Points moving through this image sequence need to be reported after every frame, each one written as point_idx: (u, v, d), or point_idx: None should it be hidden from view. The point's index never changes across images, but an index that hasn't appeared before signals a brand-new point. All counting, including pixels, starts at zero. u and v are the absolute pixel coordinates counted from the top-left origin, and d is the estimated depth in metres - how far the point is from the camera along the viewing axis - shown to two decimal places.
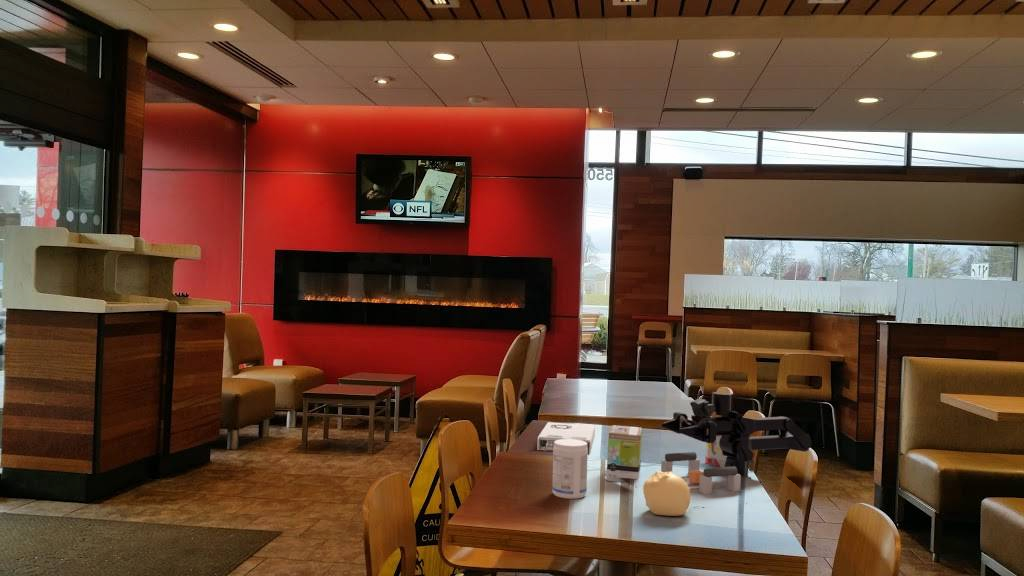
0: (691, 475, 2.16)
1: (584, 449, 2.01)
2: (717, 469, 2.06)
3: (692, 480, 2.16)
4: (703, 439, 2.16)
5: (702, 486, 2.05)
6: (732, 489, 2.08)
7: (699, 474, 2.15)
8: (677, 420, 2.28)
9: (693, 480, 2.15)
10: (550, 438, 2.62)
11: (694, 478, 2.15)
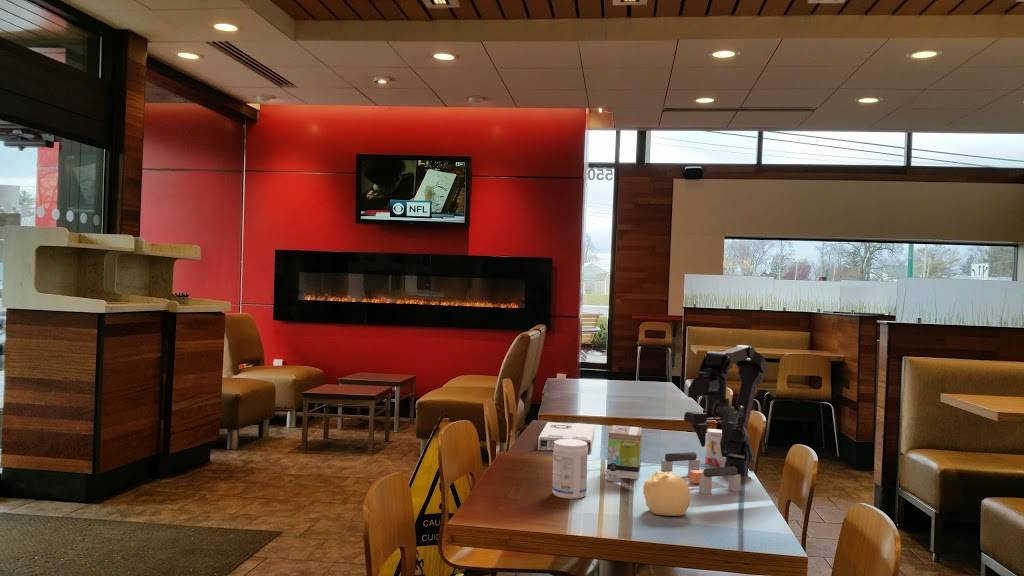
0: (691, 475, 2.16)
1: (584, 449, 2.01)
2: (717, 469, 2.06)
3: (692, 480, 2.16)
4: None
5: (702, 486, 2.05)
6: (732, 489, 2.08)
7: (699, 474, 2.15)
8: None
9: (693, 480, 2.15)
10: (551, 438, 2.62)
11: (694, 478, 2.15)
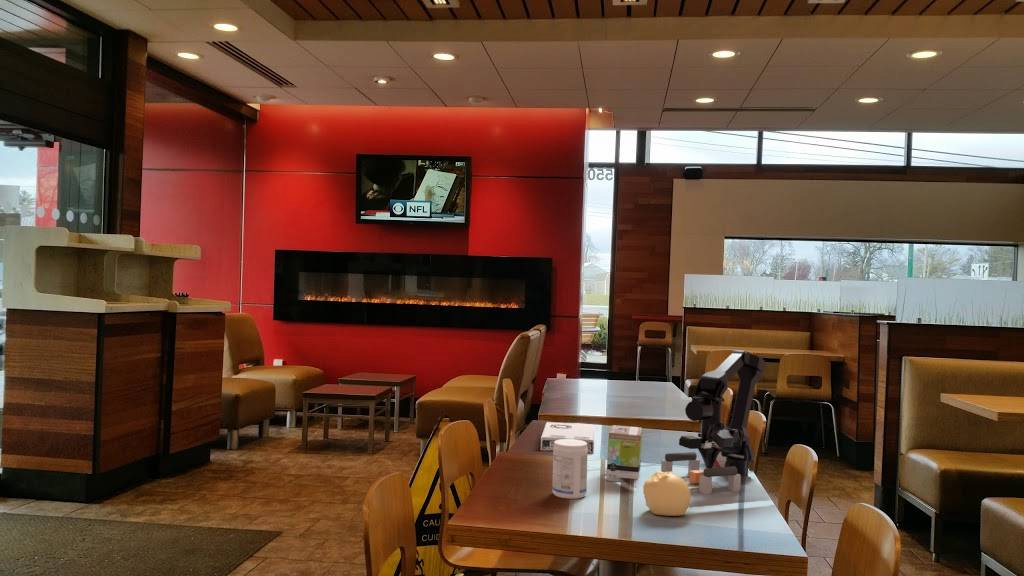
0: (691, 475, 2.16)
1: (584, 449, 2.01)
2: (717, 469, 2.06)
3: (692, 480, 2.16)
4: None
5: (702, 486, 2.05)
6: (732, 489, 2.08)
7: (699, 474, 2.15)
8: None
9: (693, 480, 2.15)
10: (553, 438, 2.62)
11: (694, 478, 2.15)
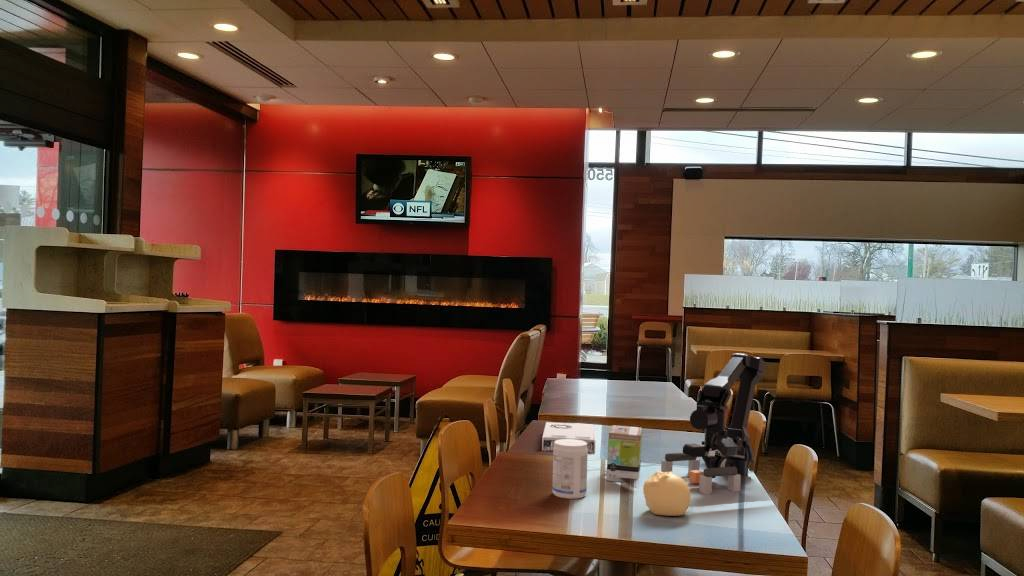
0: (691, 475, 2.16)
1: (584, 449, 2.01)
2: (717, 469, 2.06)
3: (692, 480, 2.16)
4: None
5: (702, 486, 2.05)
6: (732, 489, 2.08)
7: (699, 474, 2.15)
8: None
9: (693, 480, 2.15)
10: (554, 438, 2.62)
11: (694, 478, 2.15)
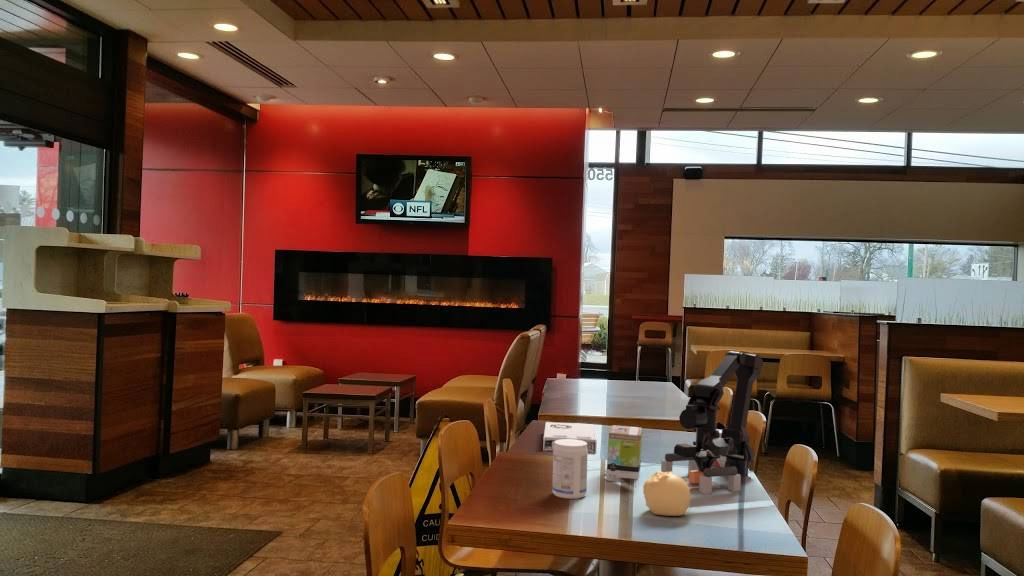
0: (690, 475, 2.16)
1: (584, 449, 2.01)
2: (717, 469, 2.06)
3: (691, 480, 2.15)
4: None
5: (702, 486, 2.05)
6: (732, 489, 2.08)
7: (698, 474, 2.15)
8: None
9: (692, 480, 2.15)
10: (556, 438, 2.62)
11: (693, 478, 2.15)
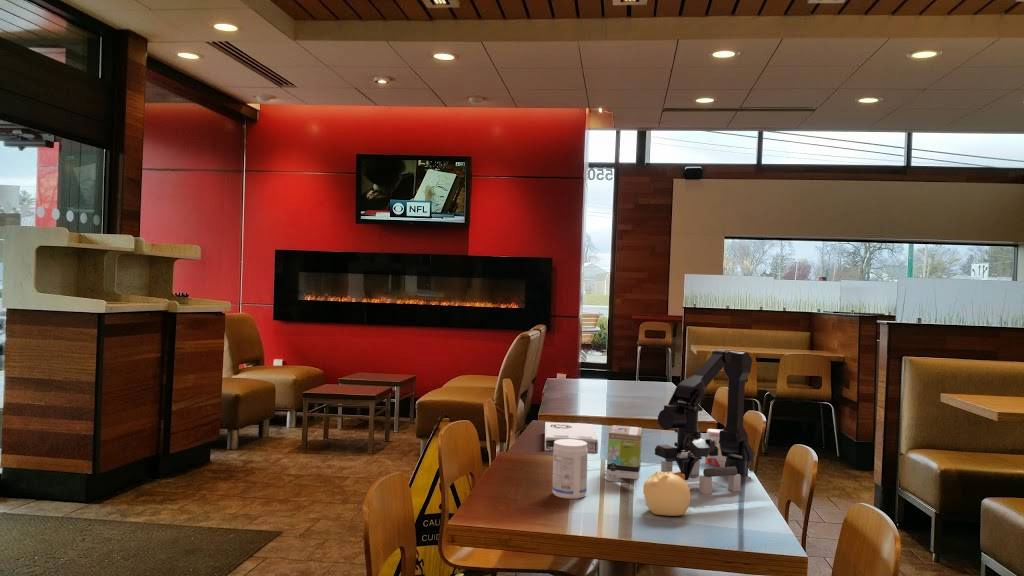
0: None
1: (584, 449, 2.01)
2: (717, 469, 2.06)
3: None
4: None
5: (702, 486, 2.05)
6: (732, 489, 2.08)
7: (680, 475, 2.12)
8: None
9: None
10: (557, 438, 2.62)
11: None
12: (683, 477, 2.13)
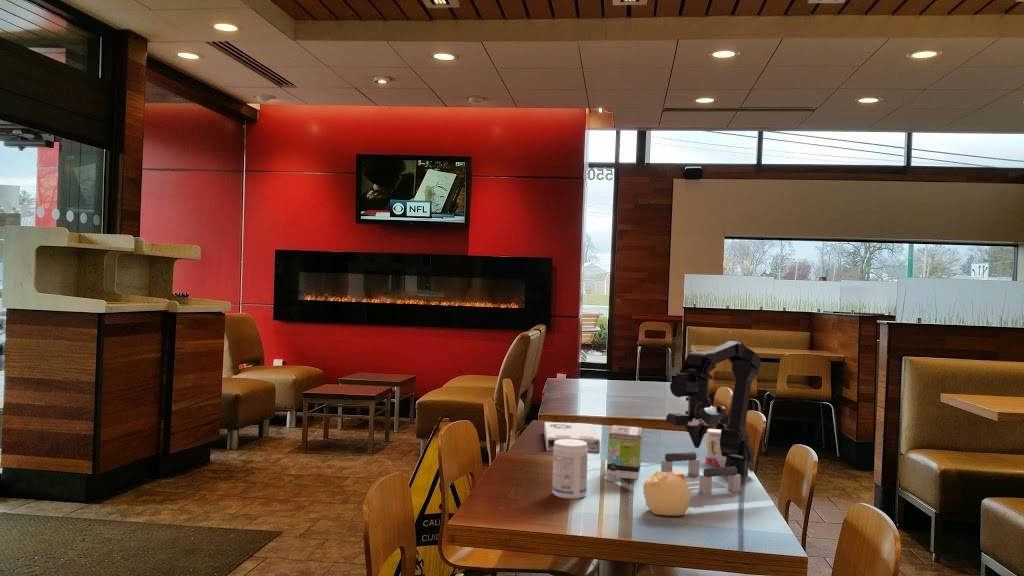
0: None
1: (584, 449, 2.01)
2: (717, 469, 2.06)
3: None
4: None
5: (702, 486, 2.05)
6: (732, 489, 2.08)
7: (679, 475, 2.12)
8: None
9: None
10: (559, 438, 2.62)
11: None
12: (683, 477, 2.13)
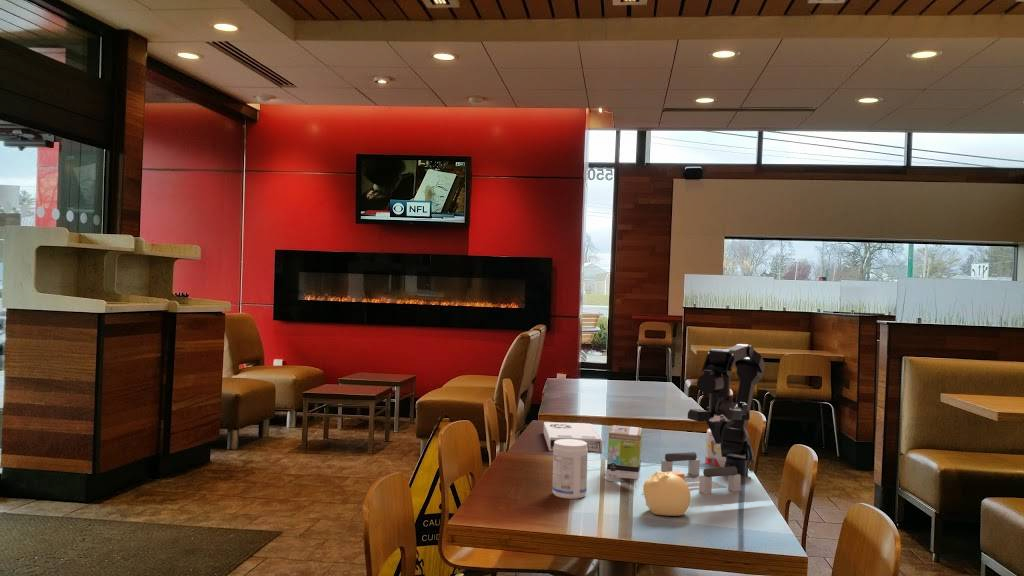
0: None
1: (584, 449, 2.01)
2: (717, 469, 2.06)
3: None
4: None
5: (702, 486, 2.05)
6: (732, 489, 2.08)
7: (679, 475, 2.12)
8: None
9: None
10: (561, 438, 2.62)
11: None
12: (683, 477, 2.13)
